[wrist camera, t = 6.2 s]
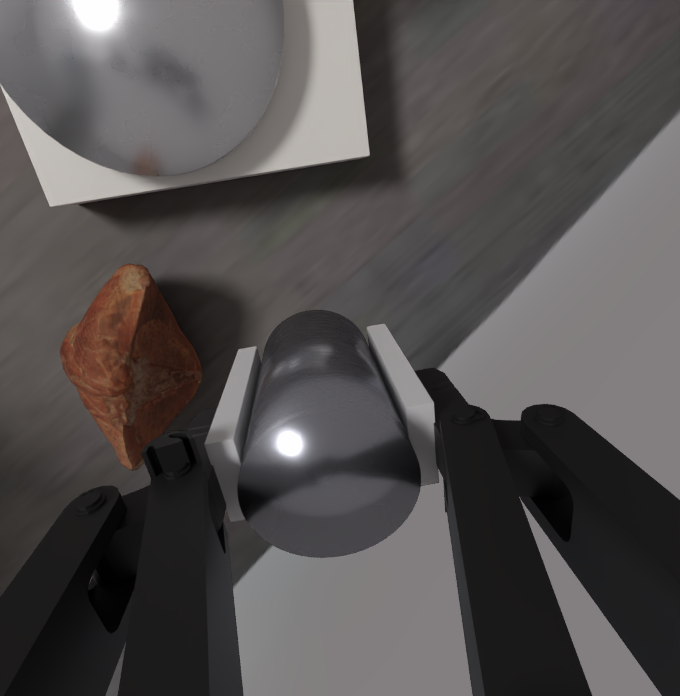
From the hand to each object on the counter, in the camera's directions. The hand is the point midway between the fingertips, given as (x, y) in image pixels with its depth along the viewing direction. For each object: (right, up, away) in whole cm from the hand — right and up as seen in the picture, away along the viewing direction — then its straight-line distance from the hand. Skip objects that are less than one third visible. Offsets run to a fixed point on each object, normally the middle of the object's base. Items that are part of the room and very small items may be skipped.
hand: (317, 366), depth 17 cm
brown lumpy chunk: (-13, +1, +12) cm, 18 cm away
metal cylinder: (0, 0, +1) cm, 1 cm away
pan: (-9, +17, +3) cm, 19 cm away
